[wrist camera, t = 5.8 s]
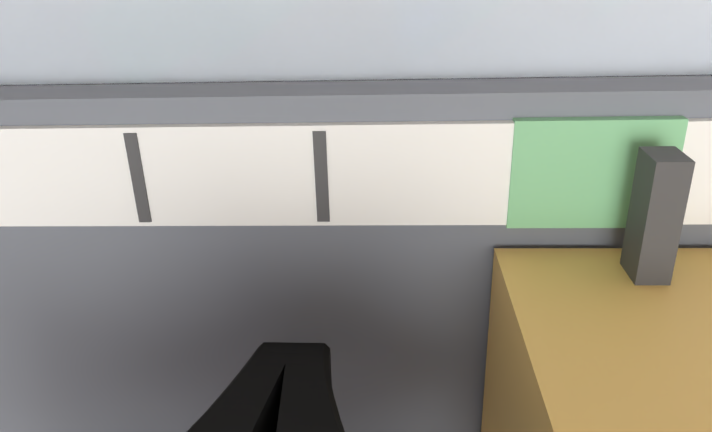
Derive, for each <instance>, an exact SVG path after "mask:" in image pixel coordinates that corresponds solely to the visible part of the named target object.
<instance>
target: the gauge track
mask: <svg viewBox="0 0 712 432" xmlns="http://www.w3.org/2000/svg"><path fill="white" fill-rule="evenodd" d="M639 146H676V147H677V148H678V149H679V150H681V151H682V152H683V153H685V154H686V155H687V156H688V157H690V158H691V159H692V160H694V161H695V162H696V163H695V168H694V172H693V177H692V182H691V187H690V192H689V197H688V202H687V207H686V212H685V216H684V221H683V226H682V231H681V236H680V241H679V246H678V248H712V75H690V76H621V77H553V78H484V79H416V80H347V81H279V82H210V83H141V84H73V85H4V86H0V432H187V431H188V430H189V429H190V427H191V426H192V425H193V424H194V423H195V422H196V421H197V420H198V419H199V418H200V417H201V416H202V415H203V414H204V413H205V412H206V411H207V410H208V408H209V407H210V406H211V405H212V404H213V403H214V402H215V400H216V399H217V398H218V397H219V396H220V395H221V393H222V392H223V391H224V390H225V389H226V388H227V386H228V385H229V384H230V383H231V382H232V380H233V379H234V378H235V377H236V375H237V374H238V373H239V372H240V370H241V369H242V368H243V367H244V365H245V364H246V363H247V361H248V360H249V359H250V357H251V356H252V355H253V354H254V352H255V351H256V350H257V348H258V347H259V346H260V345H261V344H262V343H263V342H287V343H325V344H326V345H327V346H329V347H330V353H331V377H332V389H333V393H334V398H335V401H336V405H337V408H338V412H339V415H340V419H341V422H342V425H343V428H344V431H345V432H481V425H482V411H483V397H484V383H485V369H486V355H487V341H488V327H489V313H490V299H491V286H492V272H493V258H494V248H622V246H623V240H624V234H625V228H626V222H627V216H628V210H629V204H630V197H631V191H632V185H633V179H634V173H635V167H636V161H637V155H638V149H639Z"/></svg>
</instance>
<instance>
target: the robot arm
mask: <svg viewBox="0 0 712 432" xmlns="http://www.w3.org/2000/svg"><path fill="white" fill-rule="evenodd" d="M187 432H345V431H344V428H343V425H342V422H341V419H340V415H339V412H338V408H337V405H336V401H335V398H334V393H333V389H332V377H331V353H330V347H329V346H327V345H326V344H325V343H287V342H263V343H262V344H261V345H260V346H259V347H258V348H257V350H256V351H255V352H254V354H253V355H252V356H251V357H250V359H249V360H248V361H247V363H246V364H245V365H244V367H243V368H242V369H241V370H240V372H239V373H238V374H237V375H236V377H235V378H234V379H233V380H232V382H231V383H230V384H229V385H228V386H227V388H226V389H225V390H224V391H223V392H222V393H221V395H220V396H219V397H218V398H217V399H216V400H215V402H214V403H213V404H212V405H211V406H210V407H209V408H208V410H207V411H206V412H205V413H204V414H203V415H202V416H201V417H200V418H199V419H198V420H197V421H196V422H195V423H194V424H193V425H192V426H191V427H190V429H189V430H188V431H187Z"/></svg>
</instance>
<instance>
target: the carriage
mask: <svg viewBox="0 0 712 432" xmlns="http://www.w3.org/2000/svg"><path fill="white" fill-rule="evenodd" d="M695 163H696V162H695V161H694V160H692V159H691V158H690V157H688V156H687V155H686V154H685V153H683V152H682V151H681V150H679V149H678V148H677V147H676V146H639V149H638V155H637V161H636V167H635V173H634V179H633V185H632V191H631V197H630V204H629V210H628V216H627V222H626V228H625V234H624V240H623V246H622V248H494V258H493V272H492V286H491V299H490V313H489V327H488V341H487V355H486V369H485V383H484V397H483V411H482V425H481V432H712V248H678V246H679V241H680V236H681V231H682V226H683V221H684V216H685V212H686V207H687V202H688V197H689V192H690V187H691V182H692V177H693V172H694V168H695Z"/></svg>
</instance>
